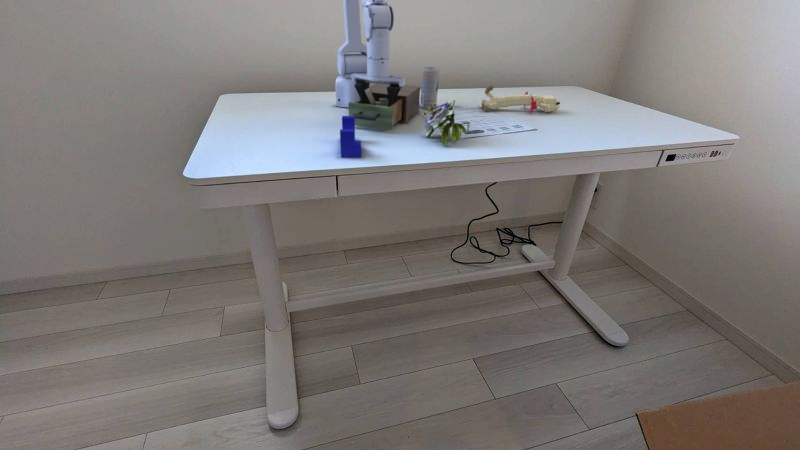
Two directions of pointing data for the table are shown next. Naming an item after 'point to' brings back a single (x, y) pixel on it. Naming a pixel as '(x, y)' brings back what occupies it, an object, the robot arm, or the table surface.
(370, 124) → the drawer
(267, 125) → the table surface
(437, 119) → the passion flower
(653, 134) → the table surface
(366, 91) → the lighter
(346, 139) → the blue stepped block
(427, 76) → the energy drink
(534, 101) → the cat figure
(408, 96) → the cabinet
